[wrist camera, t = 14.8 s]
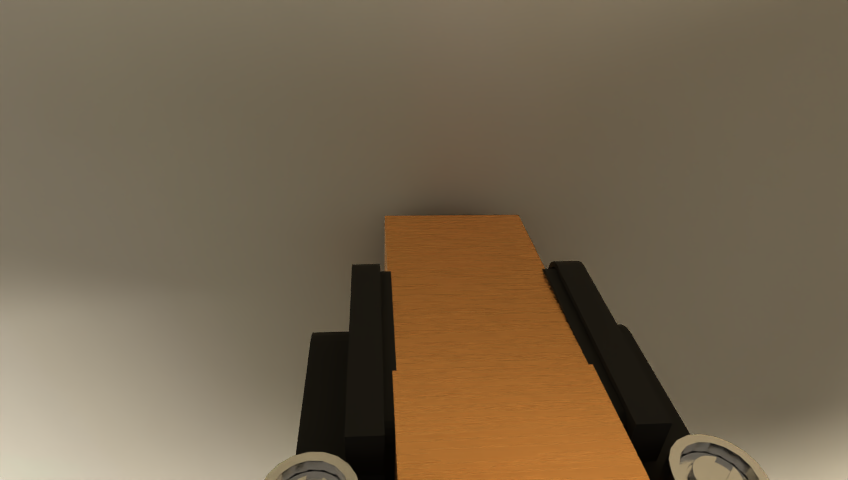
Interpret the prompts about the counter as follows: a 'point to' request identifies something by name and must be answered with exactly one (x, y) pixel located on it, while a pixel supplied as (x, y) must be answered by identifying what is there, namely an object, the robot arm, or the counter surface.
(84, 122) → the counter surface
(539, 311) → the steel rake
